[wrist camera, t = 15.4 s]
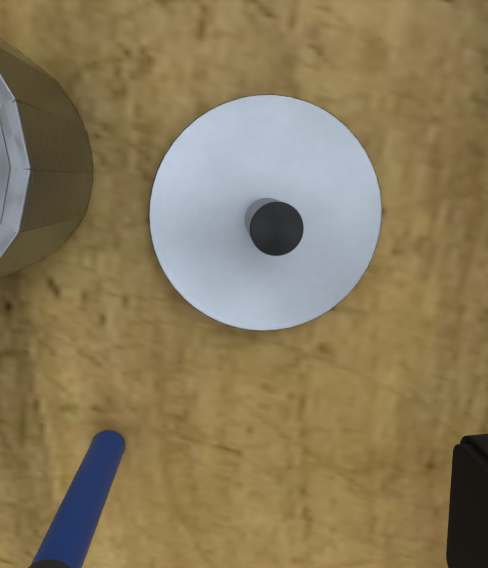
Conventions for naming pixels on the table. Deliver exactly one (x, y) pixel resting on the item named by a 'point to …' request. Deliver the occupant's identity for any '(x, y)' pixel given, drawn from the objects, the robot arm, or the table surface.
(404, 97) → the table surface
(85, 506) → the pen
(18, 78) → the pot
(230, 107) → the pot lid
